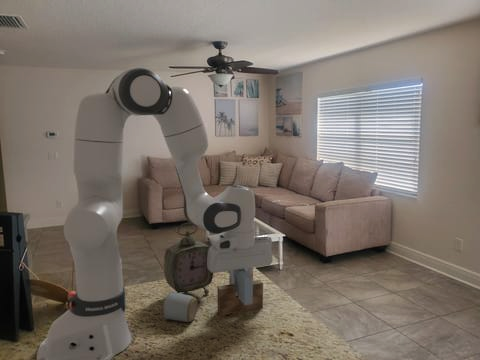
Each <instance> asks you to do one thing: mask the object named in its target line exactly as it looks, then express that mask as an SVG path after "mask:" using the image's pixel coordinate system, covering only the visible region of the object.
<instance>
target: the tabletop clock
mask: <svg viewBox="0 0 480 360" xmlns="http://www.w3.org/2000/svg"><path fill="white" fill-rule="evenodd" d="M188 225H189V226H190V225H192V226H194V227H195V230H193V231H192V232H190V231H189V230H187V231H186V230H185V231H186V232H185V233H181V232H180V230H181V228H183V227H184V226H185V227H186V226H188ZM197 231H198V226H196V225H193V224H191V223H190V222H184V223H182V224H181V225H179V227H178V228H177V233H178V235H180V236H183V237H182V238H181V239H180V241H179V242H178V243H174V244H171V245H169V246H168V247H166V249H165V252H164V259H163V264H164V265H163V269H164V271H163V272H164V277H165V281H166V283H167V284H168V286H169V287H171V288H172V290H174V292H176V293H180V294H183V293H184V294H188V293H189V292H194V291H198V290H200V289H202V290H204V291H203V293H204V294H205V295H208V294H209V292H210V291H209V289H207V288H206V287H207V286H209V285H211V284H212V282H213V278H214V273H211V272H210V271H209V270H208V268H207V255H208V250H209V248H210V246H209V245H207V244H205V243H203V242H202V241H199V240H196V239H195V237H194V236H192V235H193V234H195V233H196V232H197Z"/></svg>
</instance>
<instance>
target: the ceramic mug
mask: <svg viewBox="0 0 480 360" xmlns="http://www.w3.org/2000/svg"><path fill="white" fill-rule="evenodd" d="M198 303H199V302H198V300H197V298H196V297H194V296H192V295H188V294H185V293H184V294H183V293H177V292H176V291H171V292H169V293H168V294H167V295H166V298H165V300H164V303H163V310H162V311H163V316H164V317H163V318H165V319H168V320H172V321H179V322H183V323H184V322H185V323H190V322H192V321H193V320H194V319H195V318H196V315H197V313H198Z"/></svg>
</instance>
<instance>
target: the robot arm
mask: <svg viewBox="0 0 480 360" xmlns="http://www.w3.org/2000/svg"><path fill="white" fill-rule="evenodd" d="M77 109H78V110H77V114H76V119H75V127H74V143H73V145H74V146H73V175H74V176H75V181H76V187H77V194H78V195H77V196H78V197H77V198H78V199H77V204H76V205H75V206H73V208H71V209H70V211H69V212H68V214H67V216H66V218H65V221H64V225H63V236H64V238H65V240H66V241H67V243H68V246H69V248H70V249H69V250H70V252H71V255H72V259H73V263H74V269H75V282H76V291H75V290H70V291H69V292H68V295H67V300H68V309H67V310H66V311H65V312H64V313H63V314H61V315H60V316H59V317H58V318H57V319H55V320H54V321H53V322H52V324H51V325H50V327H49V329H48V332H47V334H46V338H45V339H44V340H43V341H42V342H41V343H40V345H39V347H38V349H37V352H36V360H112V359H113V358H114V357H115V356H116V355H117V354H119V353H121V352H123V351H125V349H127V348H128V347H129V346H130V344H131V343H132V340H133V336H132V334H131V331H130V329H129V324H128V320H127V314H126V308H127V297H126V295H127V294H126V290H125V287H124V286H123V285H124V281H123V264H122V262H123V261H122V258H121V255H120V249H119V244H118V243H119V242H118V238H117V237H118V236H117V235H118V234H117V231H118V227H119V225H120V223H121V222H122V219H123V215H124V209H123V208H124V199H123V198H124V195H123V177H122V174H123V171H122V170H123V152H124V151H123V150H124V129H125V125H126V122H127V120H128V118H129V117H131V116H153V117H154V119H156V121H157V122H158V124H159V127H160V130H161V133H162V135H163V138H164V140H165V145H166V146H167V148H168V151H169V153H170V155H171V156H170V157H171V158H172V161H173V164H174V167H175V170H176V174H177V178H178V180H179V181H178V182H179V184H180V188H181V190H182V191H181V192H182V196H183V215H184V218H185V219H186V220H187V223H189V222H190V223H191V225H192V224H193V225H192V226H194V225H196V226H197V227H199V228H201V230H202V229H203V230H204V231H206V232H208V233H210V234H215V235H214V236H211V237H210V239H209V240H210V244H211V246H209V247H210V248H209V250H208V255H207V268H208V270H209V271H210V272H211V273H213V274H215V273H221V272H224V273H225V272H227V273H228V276H229V275H230V276H231V282H232V284H234V283H237V277H236V276H233V274H232V273H234V270H239V269H246V268H247V269H248V270H247V272H248V273H249V274H250V275H251V273H252V272H253V273H254V268H259V267H267V266H270V265H271V264H272V263H273V252H272V251H273V250H272V247H273V240H272V237H270V236H268V235H267V234H266V235H265V234H264V235H257V236H256V225H255V217H256V199H255V193H254V191H253V189H252V188H251V187H249V186H245V185H242V184H241V185H240V184H230V185H228V186H227V187H226V189H224V190H223V191H222V192H221V193H219V194H218V195H216V196H211V195H210V194H208V193H207V191H206V190H205V187H204V185H203V182H202V181H203V180H202V178H201V174H200V170H199V160H200V159H201V158H203V156H204V155H205V154H206V152H207V150H208V147H209V139H208V134H207V131H206V126H205V124H204V121H203V117H202V115H201V113H200V111H199V108H198V106H197V104H196V102H195V100H194V99H193V96H192V95H191V93H190V92H189V91H188V89H186V88H184V87H180V86H169V84H167V82H165V81H164V80H163V79H162V78H161V77H160V76H159V75H158V74H157V73H156V72H154V71H152V70H151V69H147V68H143V67H135V68H133V69H127V70H125V71H123V72H122V73H120V74H119V75H117V76H116V77H115V78H114V80H112V82H111V83H110V85H109V87H108V89H106V91H105V92H104V93H101V92H100V93H99V92H97V93H90V94H88V95H86V96H84V97H83V98H81V100H80V102H79V105H78V108H77Z"/></svg>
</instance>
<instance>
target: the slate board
mask: <svg viewBox="0 0 480 360" xmlns="http://www.w3.org/2000/svg"><path fill="white" fill-rule="evenodd" d="M232 274H233V276H236V277H237V283H234V285H235V286H236V293H238V295H239V299H240V300H241V301H242V303H243V304H244V305H249V304H253V281H254V276H253V277H252V276H251V275H250V274H249V273H248V272H247V271H246V270H245V269H239V270H234V273H232ZM228 276H229V278H228V279H229V280H228V283H229V284H232V282H231V276H230V275H229V274H228ZM229 284H228V285H229Z"/></svg>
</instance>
